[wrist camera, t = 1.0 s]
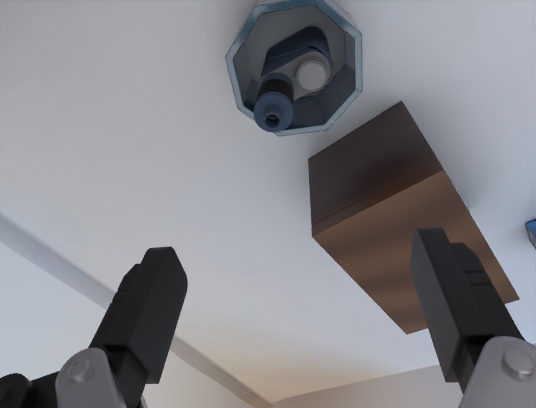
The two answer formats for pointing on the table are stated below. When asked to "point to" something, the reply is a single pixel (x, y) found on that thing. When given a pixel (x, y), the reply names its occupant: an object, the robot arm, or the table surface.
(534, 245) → the blue cardboard box
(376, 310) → the table surface
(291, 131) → the pen pot
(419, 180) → the block
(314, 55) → the vaping device
